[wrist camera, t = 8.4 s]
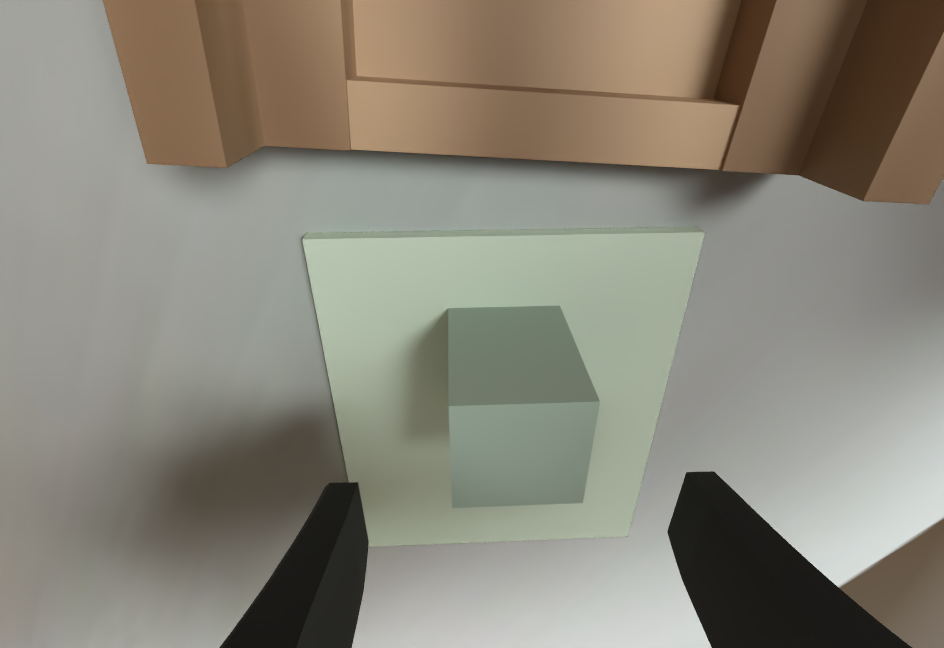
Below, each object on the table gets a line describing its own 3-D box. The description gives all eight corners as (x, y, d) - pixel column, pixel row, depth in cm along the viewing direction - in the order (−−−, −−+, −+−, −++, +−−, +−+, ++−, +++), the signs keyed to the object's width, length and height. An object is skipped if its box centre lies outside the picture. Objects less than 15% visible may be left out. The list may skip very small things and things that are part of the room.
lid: (688, 219, 13) (807, 309, 9) (620, 514, 19) (669, 652, 15) (312, 225, 13) (242, 322, 8) (364, 524, 19) (340, 668, 14)
